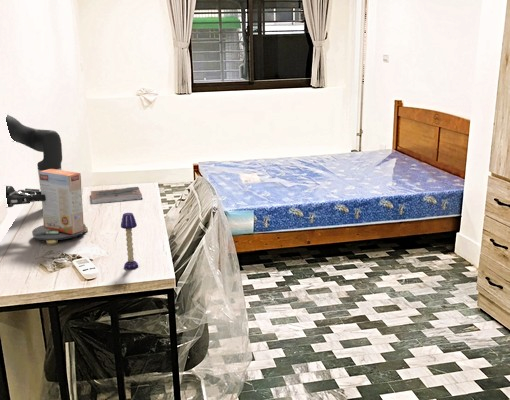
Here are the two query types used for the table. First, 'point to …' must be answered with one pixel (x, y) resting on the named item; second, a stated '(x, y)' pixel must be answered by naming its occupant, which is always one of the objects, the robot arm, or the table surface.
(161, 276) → the table surface
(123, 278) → the table surface
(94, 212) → the table surface
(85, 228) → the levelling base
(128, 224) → the toy lamp
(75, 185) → the cracker box
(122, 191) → the picture frame
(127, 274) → the table surface
